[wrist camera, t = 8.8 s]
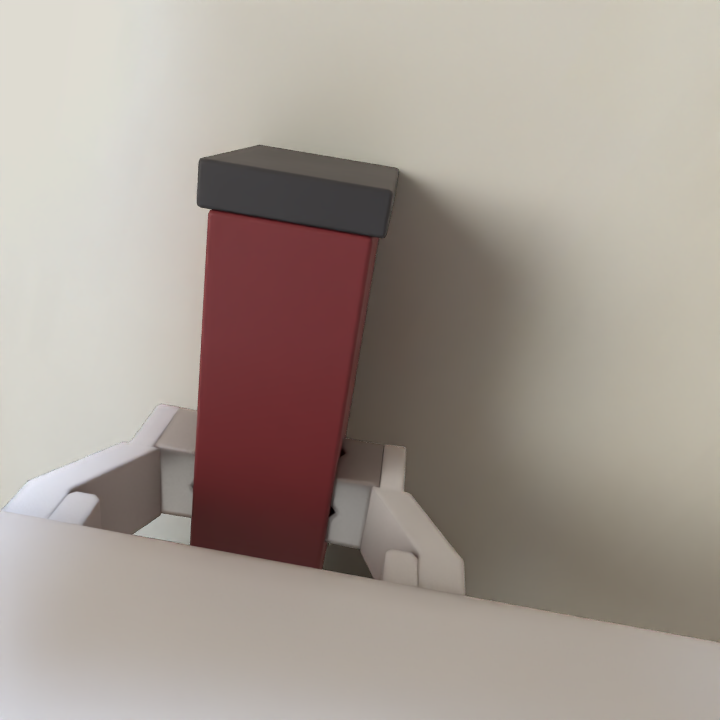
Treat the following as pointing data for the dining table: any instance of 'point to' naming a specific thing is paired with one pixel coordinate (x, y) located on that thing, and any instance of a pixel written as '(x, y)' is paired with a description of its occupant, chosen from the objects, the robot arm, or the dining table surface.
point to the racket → (280, 342)
